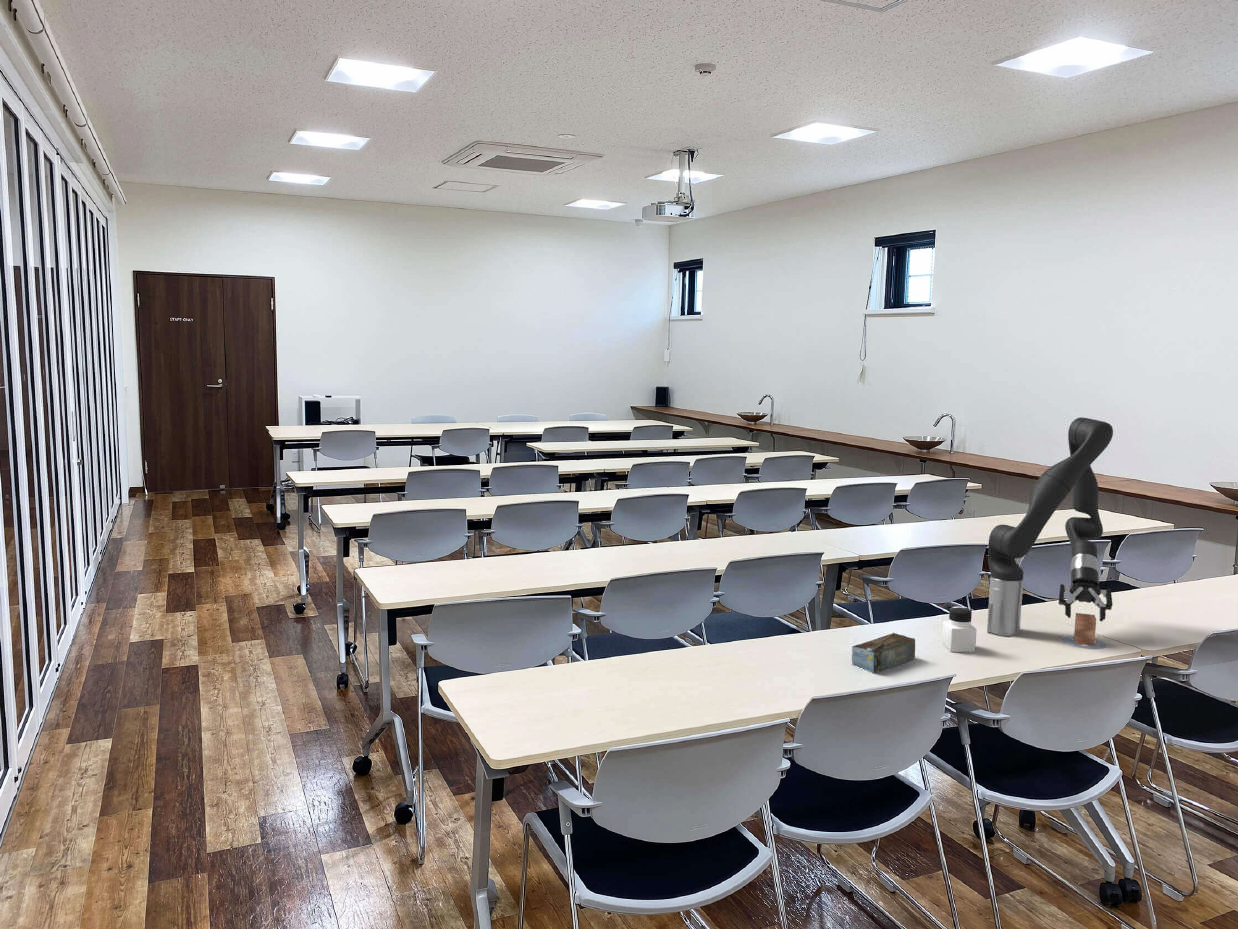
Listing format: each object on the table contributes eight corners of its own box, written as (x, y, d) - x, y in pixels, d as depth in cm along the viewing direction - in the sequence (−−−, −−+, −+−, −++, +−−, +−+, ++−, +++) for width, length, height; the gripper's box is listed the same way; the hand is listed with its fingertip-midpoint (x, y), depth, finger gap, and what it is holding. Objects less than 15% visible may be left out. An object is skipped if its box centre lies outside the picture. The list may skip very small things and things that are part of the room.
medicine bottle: (975, 652, 251) (977, 612, 249) (950, 652, 251) (952, 612, 250) (966, 644, 258) (968, 605, 257) (941, 644, 258) (944, 604, 257)
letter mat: (1062, 646, 257) (1062, 645, 257) (1060, 634, 268) (1060, 633, 268) (1109, 652, 252) (1109, 651, 252) (1104, 640, 263) (1104, 639, 263)
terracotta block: (1075, 643, 258) (1077, 617, 257) (1073, 638, 263) (1075, 612, 262) (1094, 645, 256) (1096, 619, 255) (1092, 640, 261) (1094, 614, 260)
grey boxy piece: (849, 666, 240) (850, 643, 239) (892, 652, 251) (893, 630, 251) (873, 674, 234) (874, 651, 233) (916, 660, 245) (917, 637, 244)
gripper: (1059, 563, 269) (1059, 609, 260) (1112, 568, 264) (1114, 615, 255) (1057, 576, 275) (1057, 621, 266) (1109, 581, 269) (1110, 627, 260)
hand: (1085, 618), depth 260 cm, fingers open, 8 cm apart
